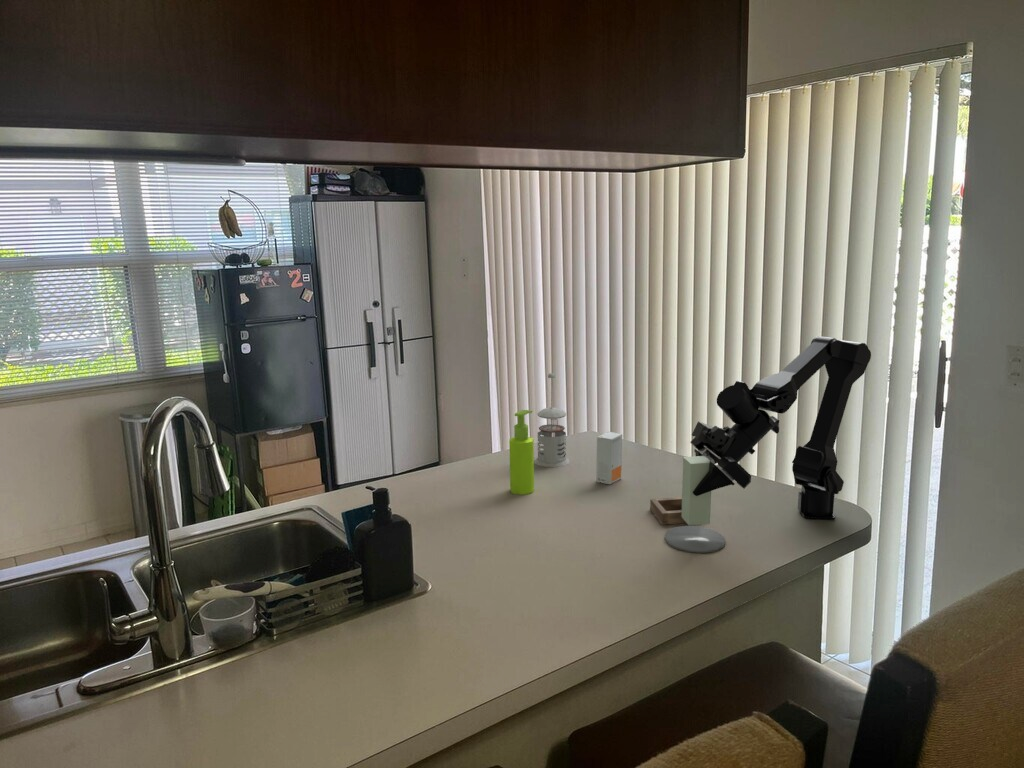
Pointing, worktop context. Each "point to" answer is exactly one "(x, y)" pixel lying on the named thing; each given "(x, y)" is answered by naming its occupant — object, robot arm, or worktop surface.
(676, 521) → the walnut holder
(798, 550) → the worktop surface
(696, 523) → the sage peg
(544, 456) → the french press
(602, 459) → the skincare box
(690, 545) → the slate coaster
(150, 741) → the worktop surface
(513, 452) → the soap dispenser
